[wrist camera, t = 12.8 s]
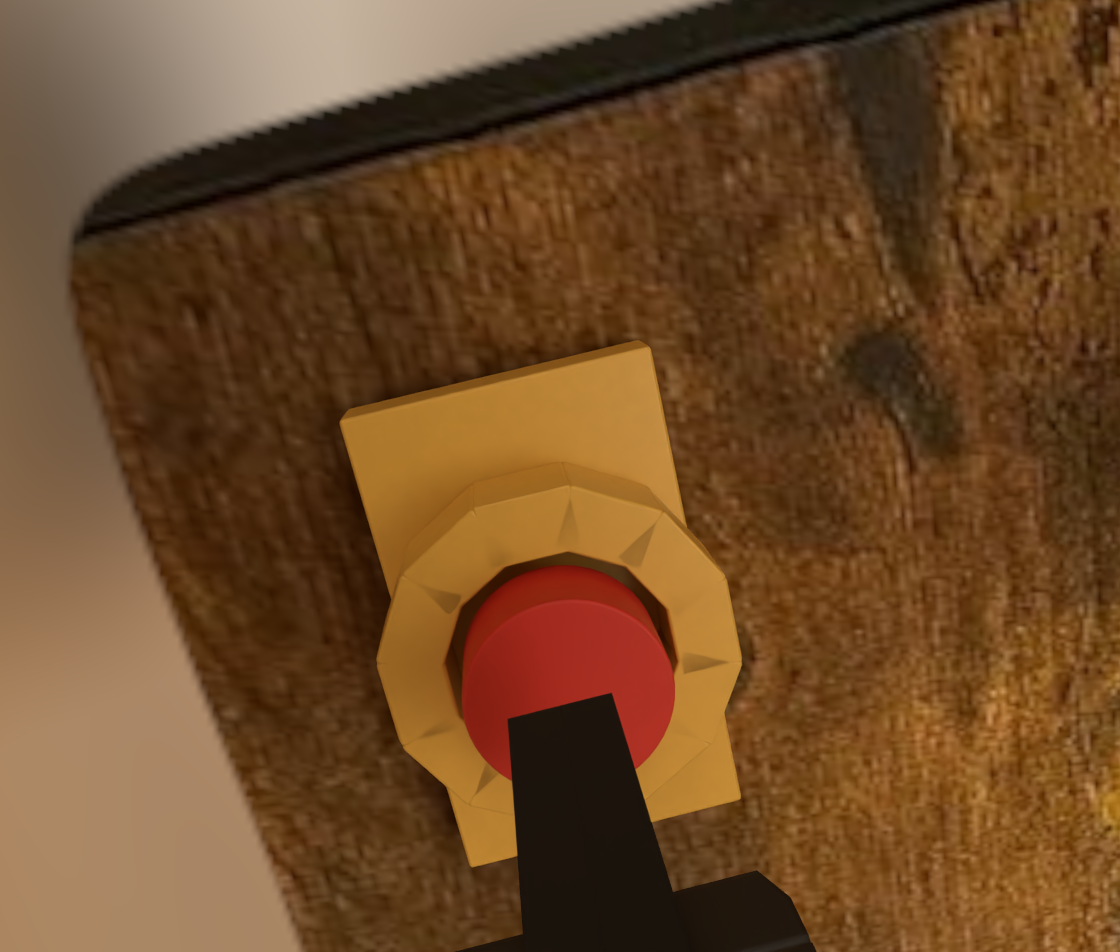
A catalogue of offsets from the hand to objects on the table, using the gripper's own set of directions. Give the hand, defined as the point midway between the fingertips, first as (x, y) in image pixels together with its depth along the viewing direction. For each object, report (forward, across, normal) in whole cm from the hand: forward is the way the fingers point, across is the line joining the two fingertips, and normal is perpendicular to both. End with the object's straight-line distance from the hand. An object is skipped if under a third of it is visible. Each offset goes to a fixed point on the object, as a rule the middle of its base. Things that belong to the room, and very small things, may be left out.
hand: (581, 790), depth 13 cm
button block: (+7, 0, 0) cm, 7 cm away
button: (+4, 0, 0) cm, 4 cm away
